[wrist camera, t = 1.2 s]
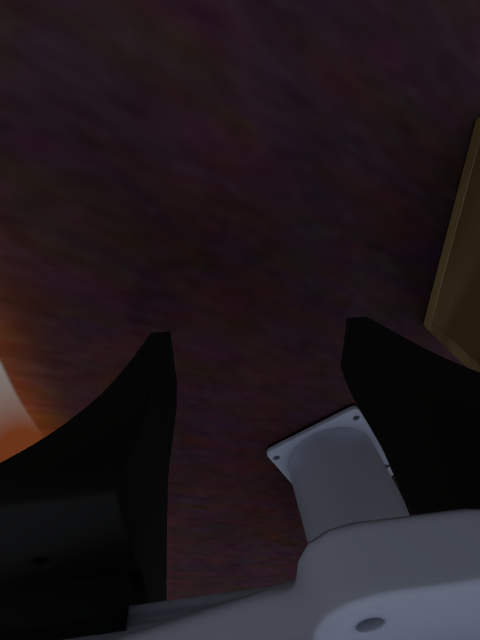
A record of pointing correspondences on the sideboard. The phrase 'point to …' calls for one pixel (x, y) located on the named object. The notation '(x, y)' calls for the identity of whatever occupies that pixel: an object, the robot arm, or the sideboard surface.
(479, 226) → the tea box
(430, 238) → the sideboard surface
